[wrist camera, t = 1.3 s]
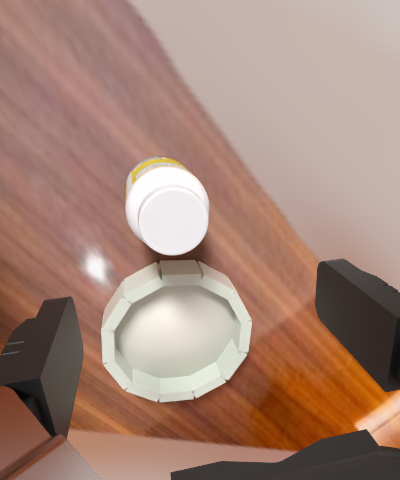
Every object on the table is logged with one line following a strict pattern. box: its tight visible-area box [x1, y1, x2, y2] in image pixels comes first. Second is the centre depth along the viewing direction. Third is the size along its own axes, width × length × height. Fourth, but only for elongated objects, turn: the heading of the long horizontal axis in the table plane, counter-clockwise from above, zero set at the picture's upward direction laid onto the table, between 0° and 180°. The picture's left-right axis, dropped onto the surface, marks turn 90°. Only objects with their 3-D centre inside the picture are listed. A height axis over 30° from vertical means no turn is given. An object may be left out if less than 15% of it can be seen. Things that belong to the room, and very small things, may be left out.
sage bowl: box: [101, 260, 252, 402], centre depth 32 cm, size 13×13×3 cm
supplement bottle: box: [125, 156, 209, 255], centre depth 24 cm, size 5×5×10 cm
